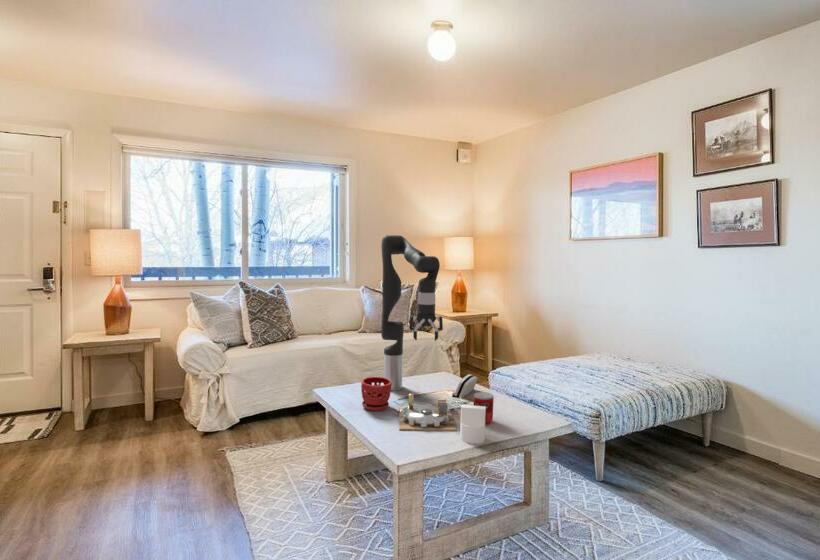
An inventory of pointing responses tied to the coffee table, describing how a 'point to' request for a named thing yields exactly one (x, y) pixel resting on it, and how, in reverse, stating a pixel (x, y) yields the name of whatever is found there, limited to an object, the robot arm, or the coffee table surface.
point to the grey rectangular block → (442, 407)
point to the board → (442, 427)
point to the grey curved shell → (465, 385)
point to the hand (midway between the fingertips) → (425, 339)
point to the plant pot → (375, 393)
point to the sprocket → (424, 414)
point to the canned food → (485, 404)
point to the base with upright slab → (472, 424)
